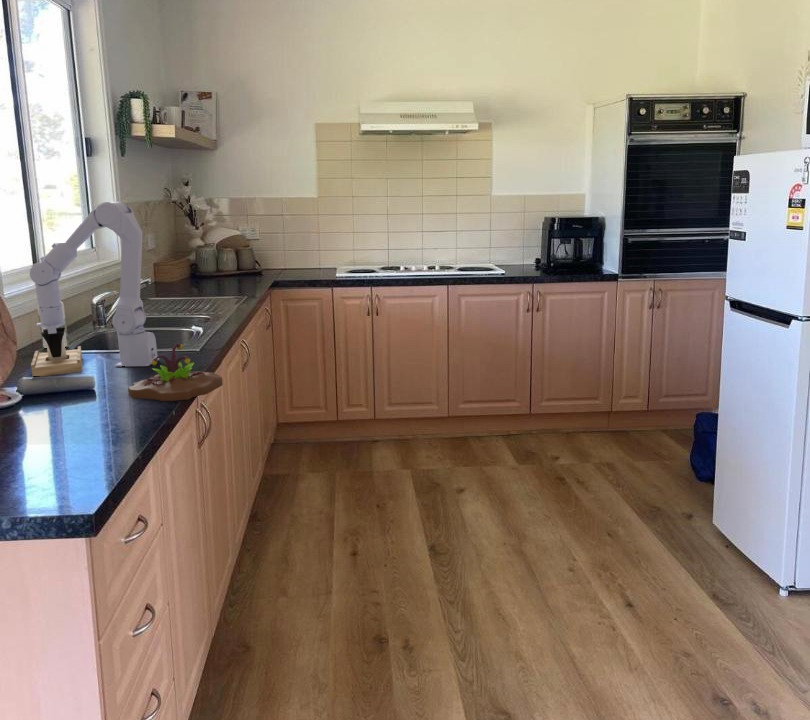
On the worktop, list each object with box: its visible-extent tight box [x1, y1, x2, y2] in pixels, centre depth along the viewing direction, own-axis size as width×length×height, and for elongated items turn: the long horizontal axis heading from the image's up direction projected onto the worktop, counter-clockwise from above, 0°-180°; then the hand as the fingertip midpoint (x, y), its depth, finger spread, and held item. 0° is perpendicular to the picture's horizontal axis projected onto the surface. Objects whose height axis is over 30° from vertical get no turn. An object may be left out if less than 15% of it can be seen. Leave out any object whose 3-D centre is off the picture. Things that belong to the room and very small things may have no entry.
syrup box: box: [36, 301, 70, 349], centre depth 238 cm, size 6×6×14 cm
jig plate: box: [30, 345, 83, 377], centre depth 213 cm, size 20×12×3 cm, turn 22°
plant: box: [127, 342, 224, 402], centre depth 183 cm, size 20×20×11 cm
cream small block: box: [46, 339, 67, 361], centre depth 212 cm, size 5×5×6 cm
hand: (57, 355), depth 212 cm, fingers closed on cream small block, 4 cm apart
